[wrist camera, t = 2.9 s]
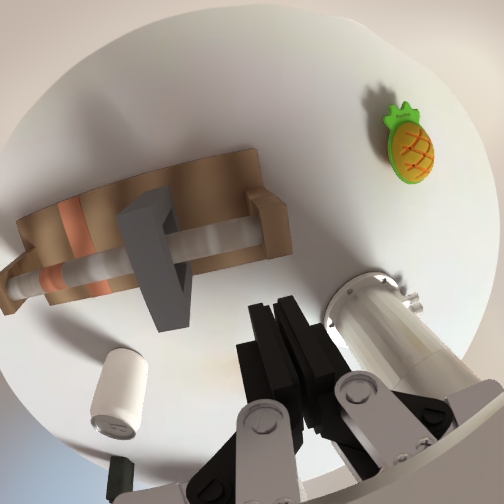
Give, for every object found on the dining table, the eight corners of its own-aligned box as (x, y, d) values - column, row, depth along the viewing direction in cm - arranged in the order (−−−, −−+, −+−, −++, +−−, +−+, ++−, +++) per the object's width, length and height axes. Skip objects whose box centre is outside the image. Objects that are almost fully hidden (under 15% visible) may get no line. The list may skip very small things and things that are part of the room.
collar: (169, 185, 24) (150, 206, 16) (192, 272, 27) (189, 326, 19) (144, 191, 24) (115, 215, 15) (170, 277, 27) (158, 332, 19)
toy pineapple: (385, 187, 31) (411, 196, 26) (363, 109, 27) (390, 106, 22) (421, 171, 31) (448, 178, 26) (404, 100, 27) (431, 97, 22)
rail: (254, 148, 27) (277, 150, 18) (272, 253, 32) (297, 296, 23) (19, 219, 25) (-26, 246, 16) (52, 301, 30) (21, 345, 21)
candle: (136, 464, 48) (133, 547, 25) (119, 464, 48) (115, 544, 25) (125, 456, 46) (120, 544, 23) (109, 456, 46) (101, 540, 23)
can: (106, 341, 33) (83, 407, 22) (150, 352, 35) (138, 421, 24) (108, 371, 35) (91, 433, 24) (147, 381, 37) (139, 445, 26)
